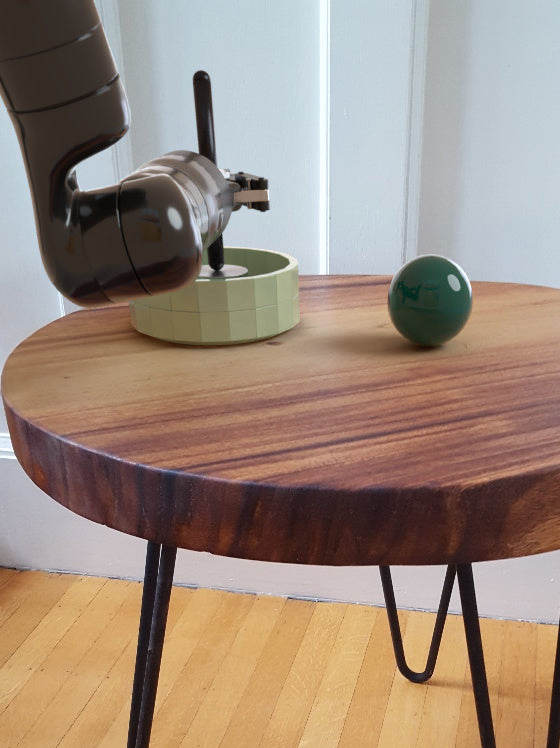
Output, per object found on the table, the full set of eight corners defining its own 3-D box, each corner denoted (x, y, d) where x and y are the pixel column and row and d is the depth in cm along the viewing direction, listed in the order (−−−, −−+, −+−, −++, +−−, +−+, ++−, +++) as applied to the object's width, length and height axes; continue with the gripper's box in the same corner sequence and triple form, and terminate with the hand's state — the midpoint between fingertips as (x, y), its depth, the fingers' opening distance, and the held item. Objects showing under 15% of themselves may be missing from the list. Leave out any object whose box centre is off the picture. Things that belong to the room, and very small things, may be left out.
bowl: (125, 351, 88) (116, 282, 85) (139, 307, 102) (131, 247, 99) (305, 346, 90) (303, 279, 87) (294, 304, 104) (292, 245, 101)
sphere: (447, 361, 86) (452, 267, 82) (371, 348, 90) (371, 257, 85) (483, 341, 92) (490, 252, 88) (410, 329, 96) (413, 243, 91)
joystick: (187, 310, 92) (164, 71, 81) (189, 296, 97) (167, 69, 86) (250, 308, 93) (235, 71, 82) (249, 294, 98) (234, 69, 87)
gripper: (258, 156, 75) (285, 137, 89) (85, 154, 75) (140, 135, 90) (263, 258, 79) (288, 224, 93) (99, 256, 79) (150, 222, 94)
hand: (215, 181), depth 91 cm, fingers closed on joystick
